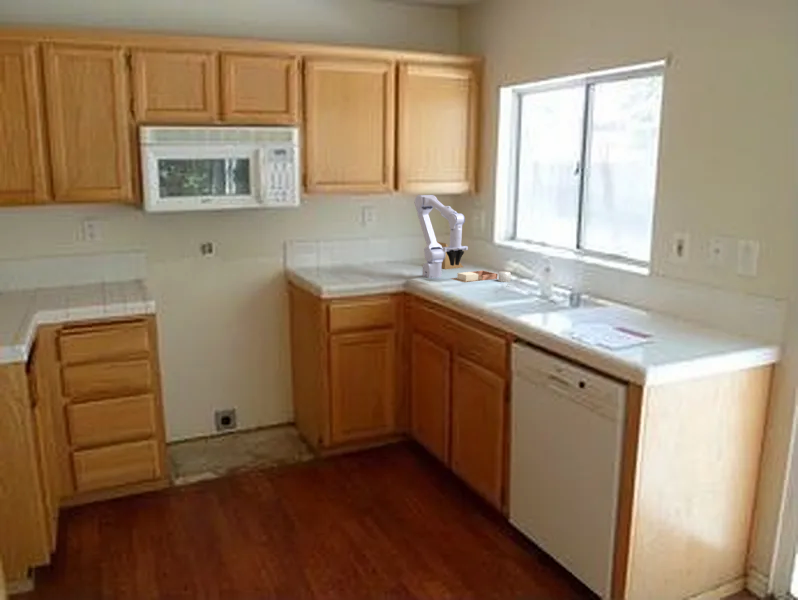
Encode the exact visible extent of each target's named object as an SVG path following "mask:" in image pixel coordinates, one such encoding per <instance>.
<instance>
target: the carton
mask: <svg viewBox="0 0 798 600" xmlns="http://www.w3.org/2000/svg"><path fill="white" fill-rule="evenodd" d="M472 272H473V271H465V272H457V274H456V276H457V277H456V278H457V279H460V280H464V281H472V280H478V274H476V273H472Z"/></svg>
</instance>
